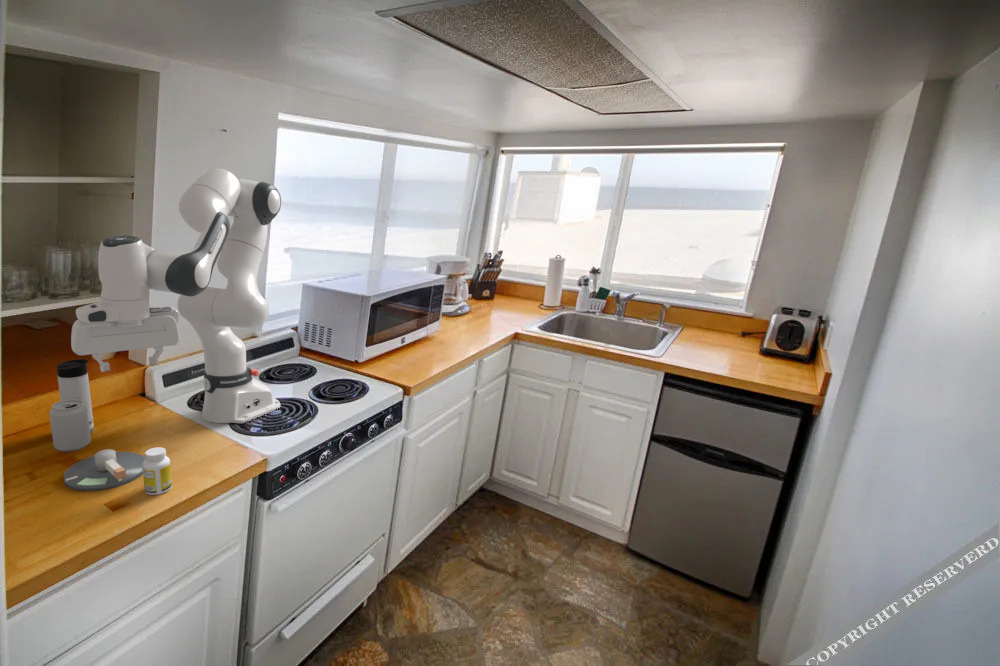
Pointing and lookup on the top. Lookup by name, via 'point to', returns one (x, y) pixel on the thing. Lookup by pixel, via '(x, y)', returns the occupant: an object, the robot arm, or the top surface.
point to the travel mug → (75, 384)
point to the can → (70, 425)
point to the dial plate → (103, 473)
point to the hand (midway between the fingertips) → (130, 367)
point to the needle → (109, 463)
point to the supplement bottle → (156, 471)
